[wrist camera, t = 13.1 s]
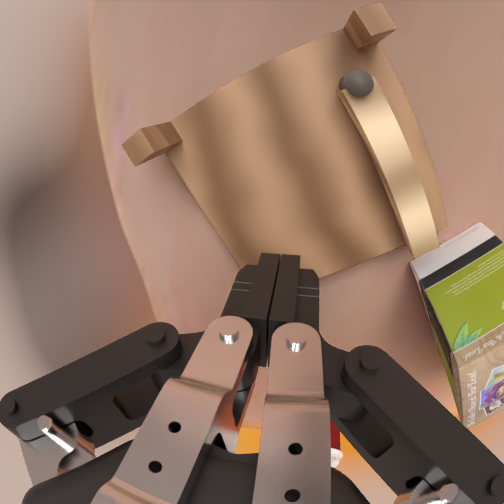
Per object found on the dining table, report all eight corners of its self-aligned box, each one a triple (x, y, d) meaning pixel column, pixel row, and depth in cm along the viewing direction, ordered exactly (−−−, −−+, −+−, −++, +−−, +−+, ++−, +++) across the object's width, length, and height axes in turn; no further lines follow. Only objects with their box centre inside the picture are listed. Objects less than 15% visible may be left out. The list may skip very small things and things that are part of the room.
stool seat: (360, 27, 16) (380, 2, 10) (439, 217, 23) (471, 253, 17) (164, 131, 24) (121, 144, 18) (263, 287, 30) (252, 333, 24)
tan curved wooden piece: (330, 82, 17) (336, 78, 14) (358, 69, 16) (369, 63, 13) (404, 241, 23) (417, 263, 19) (427, 230, 22) (442, 251, 18)
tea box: (493, 307, 26) (534, 392, 14) (433, 340, 31) (459, 434, 18) (480, 216, 22) (561, 305, 9) (405, 259, 26) (454, 376, 13)
